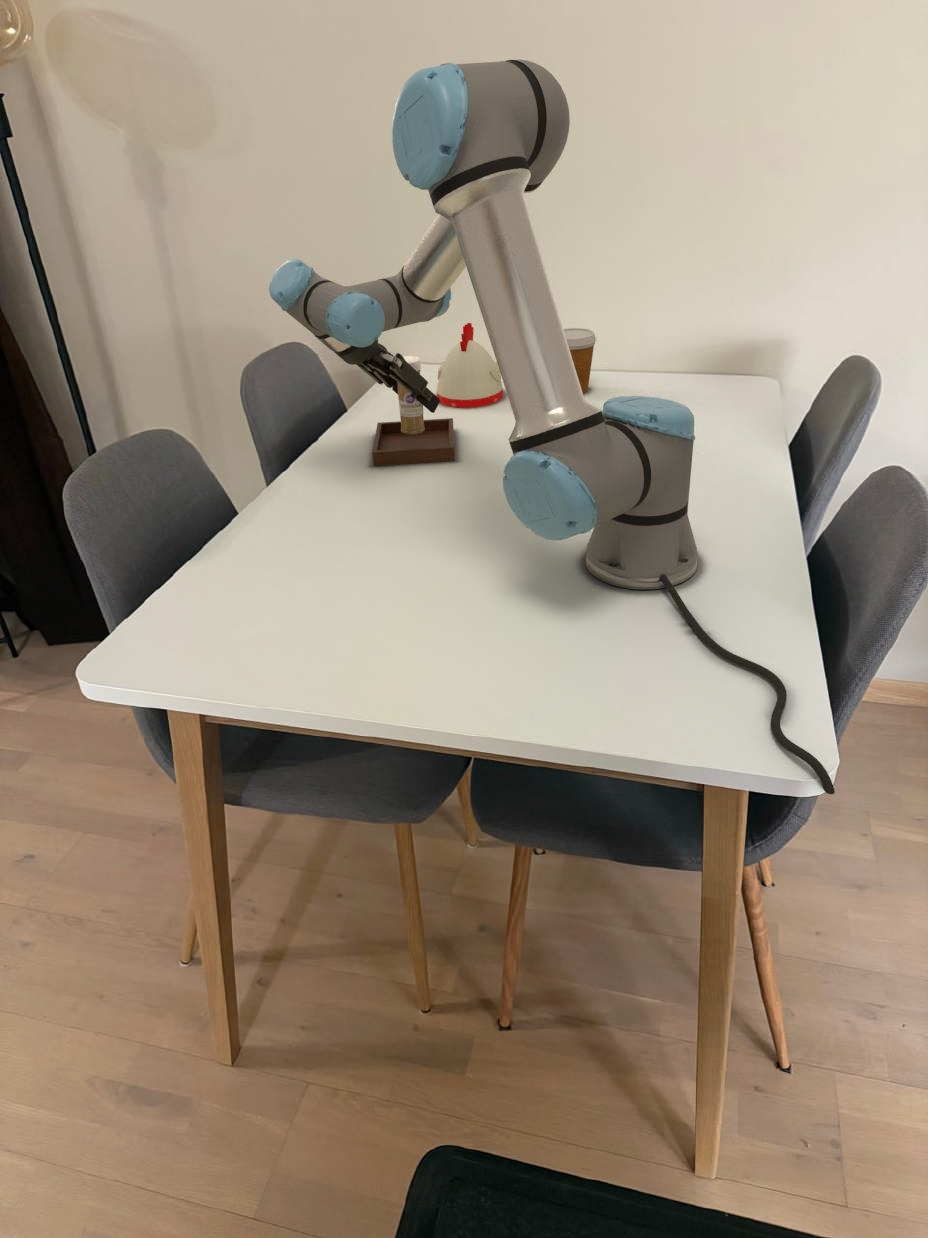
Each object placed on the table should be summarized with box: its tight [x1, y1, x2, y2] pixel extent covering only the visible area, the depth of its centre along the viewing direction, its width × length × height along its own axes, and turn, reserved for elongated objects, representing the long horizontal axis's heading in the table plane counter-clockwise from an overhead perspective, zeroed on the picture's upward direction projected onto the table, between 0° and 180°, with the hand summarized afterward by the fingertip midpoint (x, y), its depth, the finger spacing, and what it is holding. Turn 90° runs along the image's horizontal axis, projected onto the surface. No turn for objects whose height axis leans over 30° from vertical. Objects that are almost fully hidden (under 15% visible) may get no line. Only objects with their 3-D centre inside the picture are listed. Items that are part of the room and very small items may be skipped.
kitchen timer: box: [436, 322, 503, 409], centre depth 189 cm, size 14×14×15 cm
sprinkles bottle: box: [397, 355, 425, 435], centre depth 164 cm, size 5×5×14 cm
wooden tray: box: [371, 417, 455, 467], centre depth 168 cm, size 16×15×3 cm
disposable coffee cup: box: [563, 327, 597, 394], centre depth 189 cm, size 10×10×12 cm
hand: (426, 403), depth 167 cm, fingers closed on sprinkles bottle, 4 cm apart
